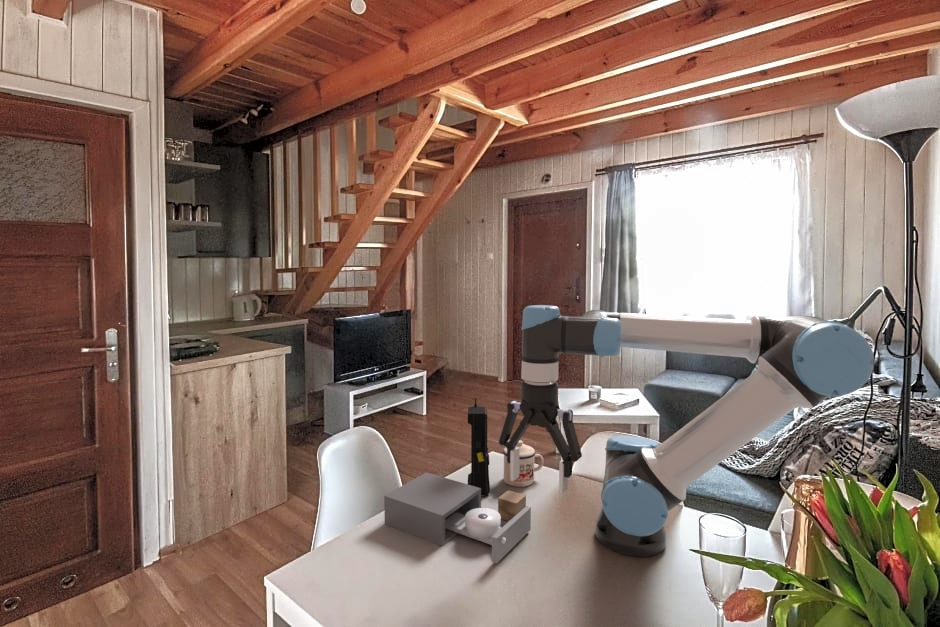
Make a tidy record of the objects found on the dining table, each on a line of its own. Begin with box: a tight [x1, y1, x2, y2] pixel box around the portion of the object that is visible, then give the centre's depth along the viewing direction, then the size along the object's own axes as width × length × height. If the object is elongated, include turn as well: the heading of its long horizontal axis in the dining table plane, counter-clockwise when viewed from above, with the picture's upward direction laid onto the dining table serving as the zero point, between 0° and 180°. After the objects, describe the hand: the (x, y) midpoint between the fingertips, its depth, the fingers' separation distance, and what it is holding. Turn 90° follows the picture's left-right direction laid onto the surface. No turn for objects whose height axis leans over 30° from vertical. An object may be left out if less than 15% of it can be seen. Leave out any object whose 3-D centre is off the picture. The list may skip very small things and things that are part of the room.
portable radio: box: [467, 397, 491, 497], centre depth 135 cm, size 8×6×25 cm
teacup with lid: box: [502, 439, 545, 488], centre depth 143 cm, size 12×9×12 cm
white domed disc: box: [465, 507, 502, 539], centre depth 113 cm, size 8×8×3 cm
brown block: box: [497, 490, 527, 522], centre depth 123 cm, size 5×5×5 cm
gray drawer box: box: [383, 472, 482, 547], centre depth 121 cm, size 17×16×7 cm
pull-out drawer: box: [445, 505, 532, 564], centre depth 114 cm, size 18×16×5 cm
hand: (538, 484), depth 105 cm, fingers open, 10 cm apart
